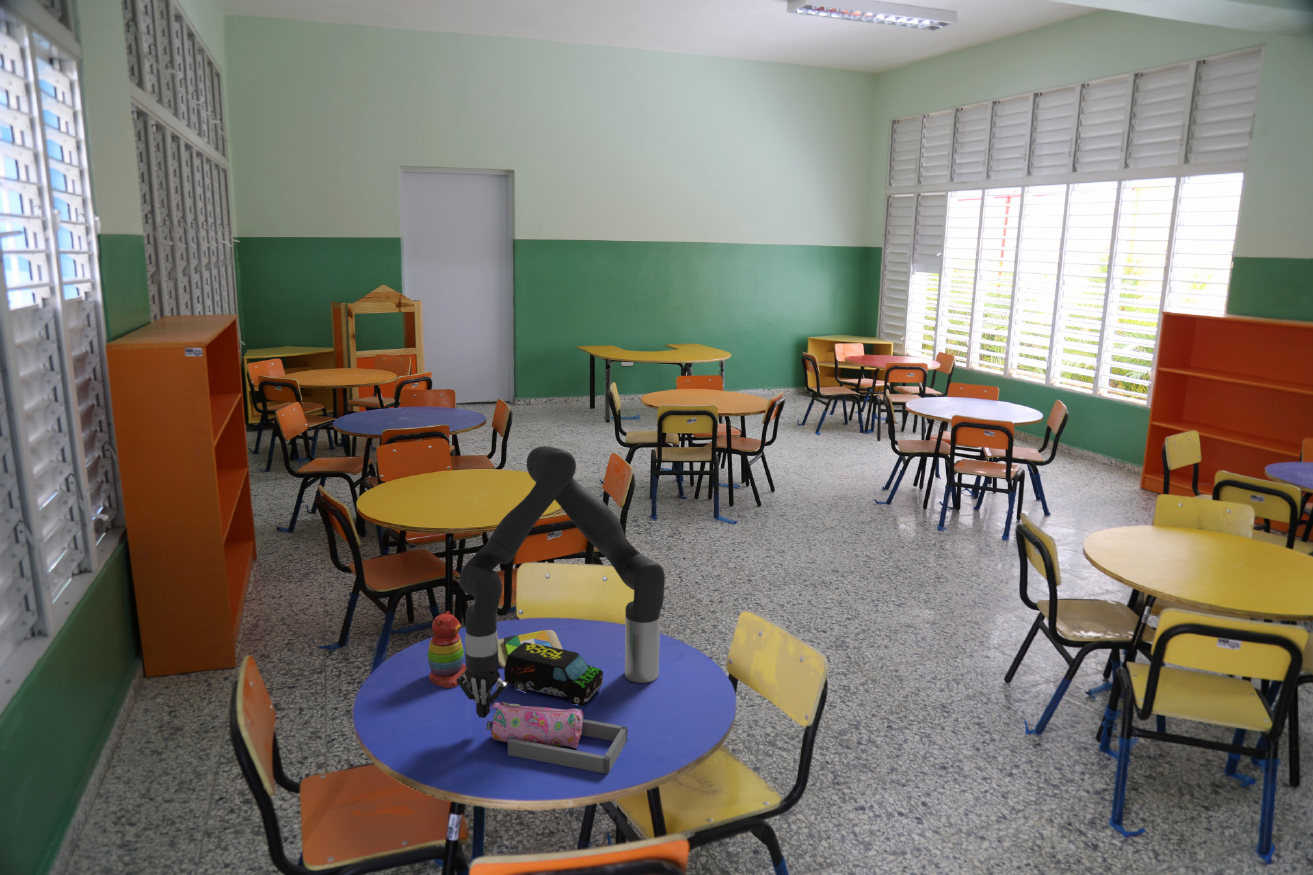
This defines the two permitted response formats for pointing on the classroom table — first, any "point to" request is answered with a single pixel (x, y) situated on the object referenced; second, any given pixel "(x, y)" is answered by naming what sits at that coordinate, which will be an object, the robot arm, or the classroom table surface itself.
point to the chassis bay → (572, 756)
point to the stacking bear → (446, 651)
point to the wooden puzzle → (537, 637)
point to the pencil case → (536, 724)
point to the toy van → (552, 672)
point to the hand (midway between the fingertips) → (483, 715)
